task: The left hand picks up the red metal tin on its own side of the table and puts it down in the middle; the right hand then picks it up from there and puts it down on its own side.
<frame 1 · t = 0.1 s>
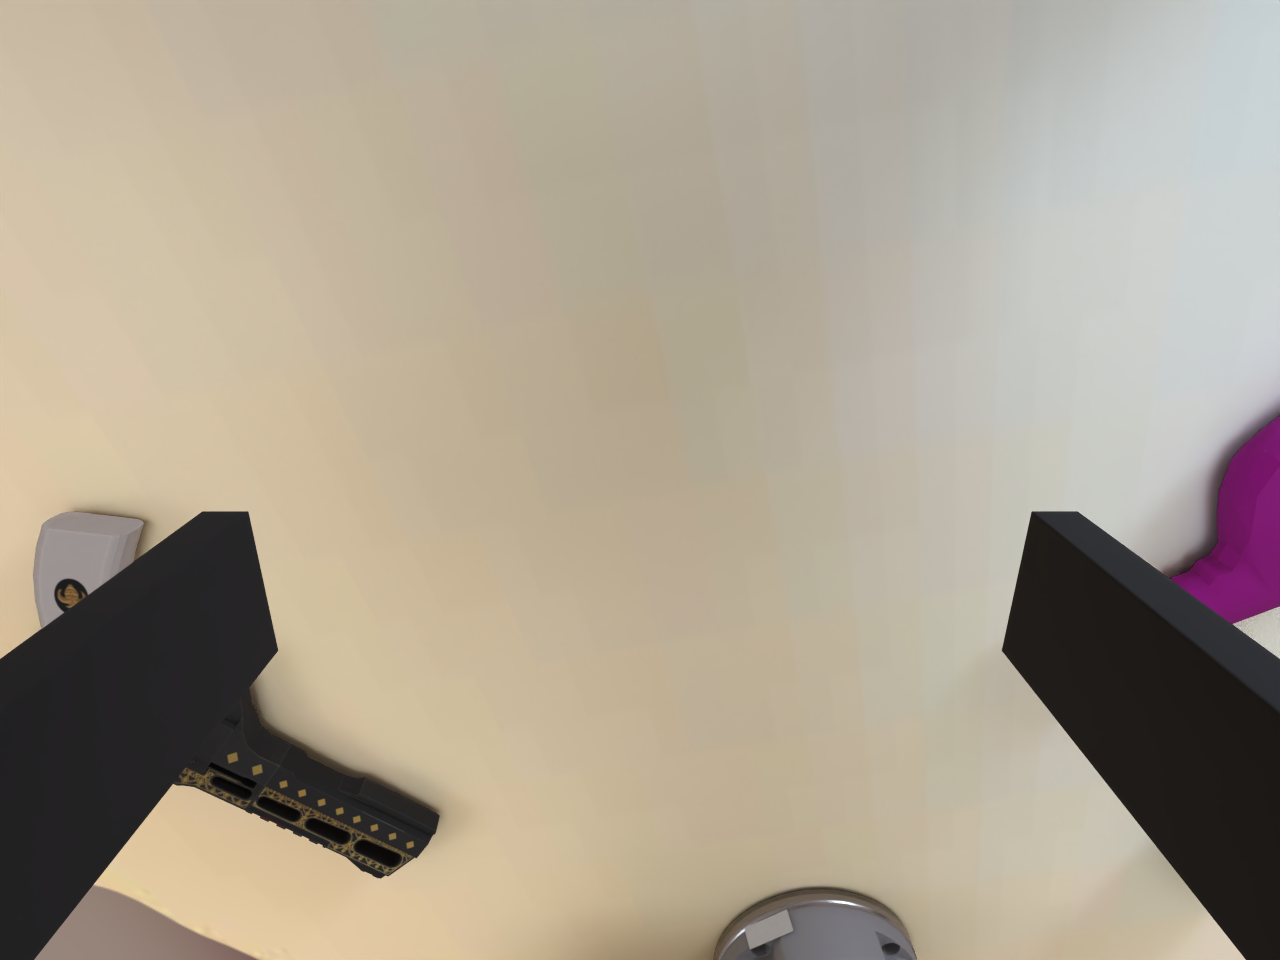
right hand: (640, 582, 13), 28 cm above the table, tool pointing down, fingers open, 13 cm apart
spray bottle: (1238, 525, 43), on the table
decorative firearm: (261, 692, 48), on the table
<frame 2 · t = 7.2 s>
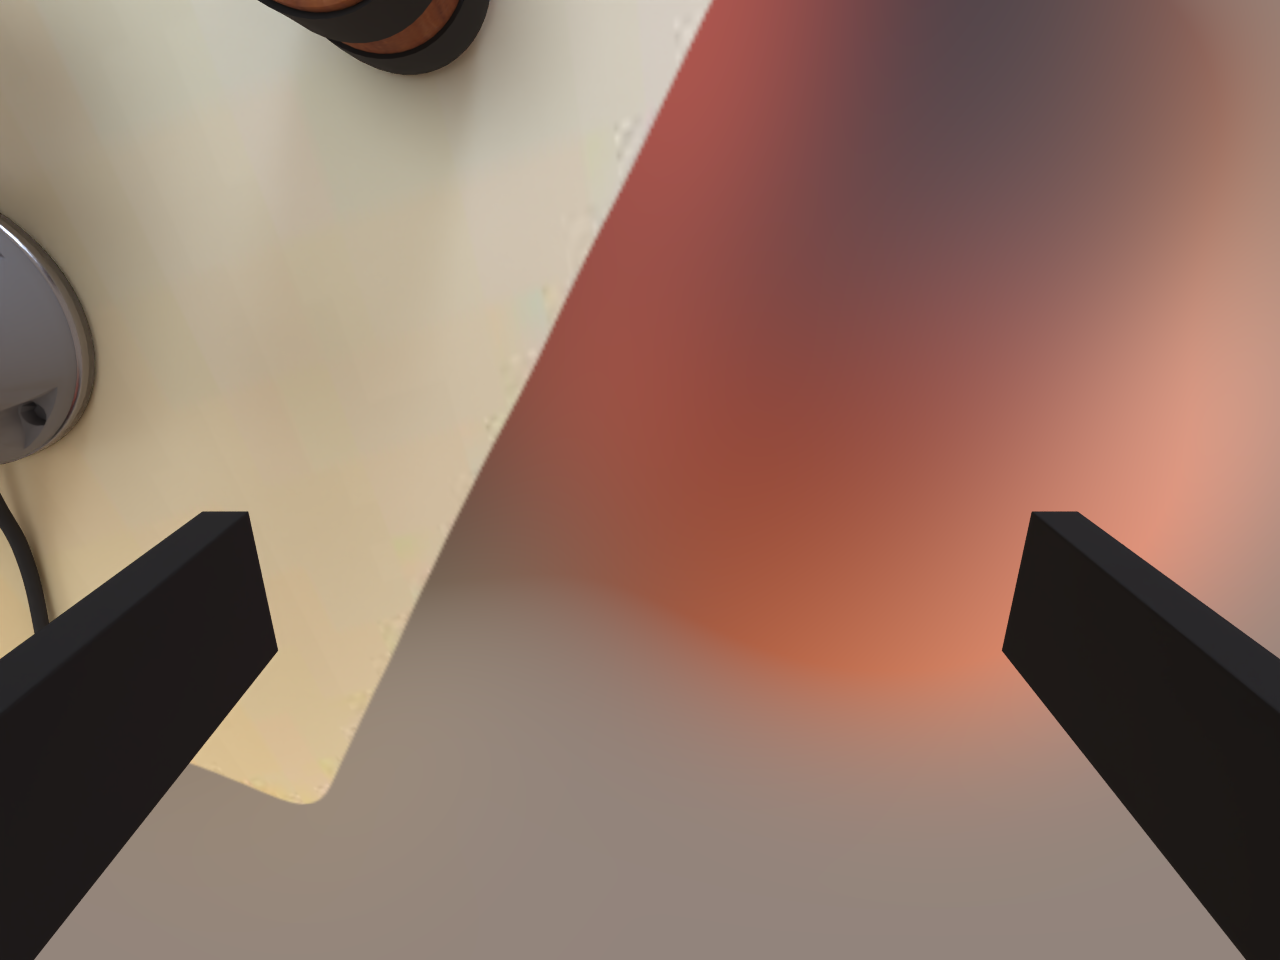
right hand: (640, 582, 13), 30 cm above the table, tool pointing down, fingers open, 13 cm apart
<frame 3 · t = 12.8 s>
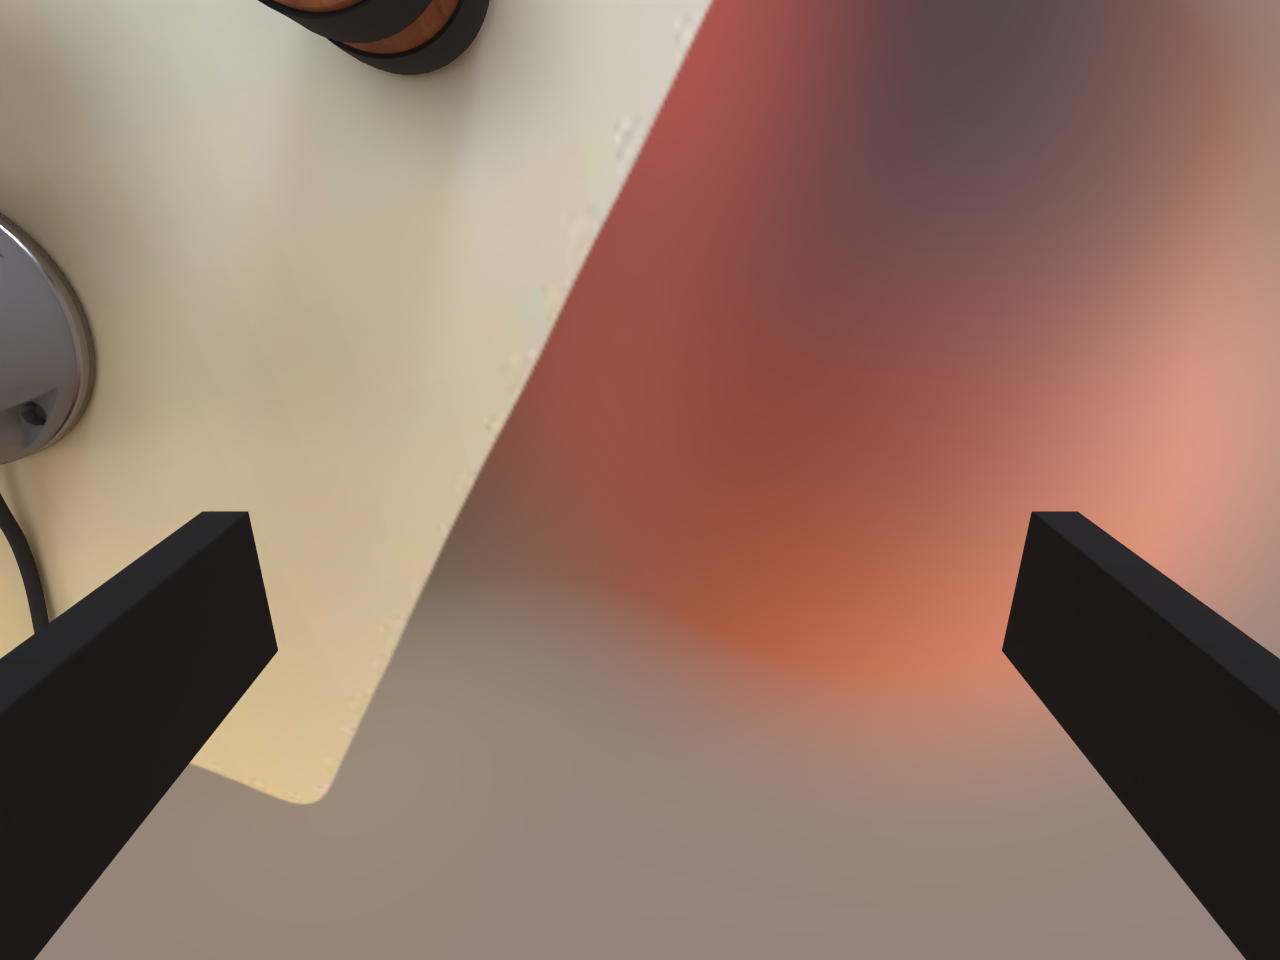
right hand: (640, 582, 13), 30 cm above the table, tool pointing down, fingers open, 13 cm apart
when the left hand's fingers open (5 cm above the table, at t = 18.3 s): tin drops 2 cm, on the table.
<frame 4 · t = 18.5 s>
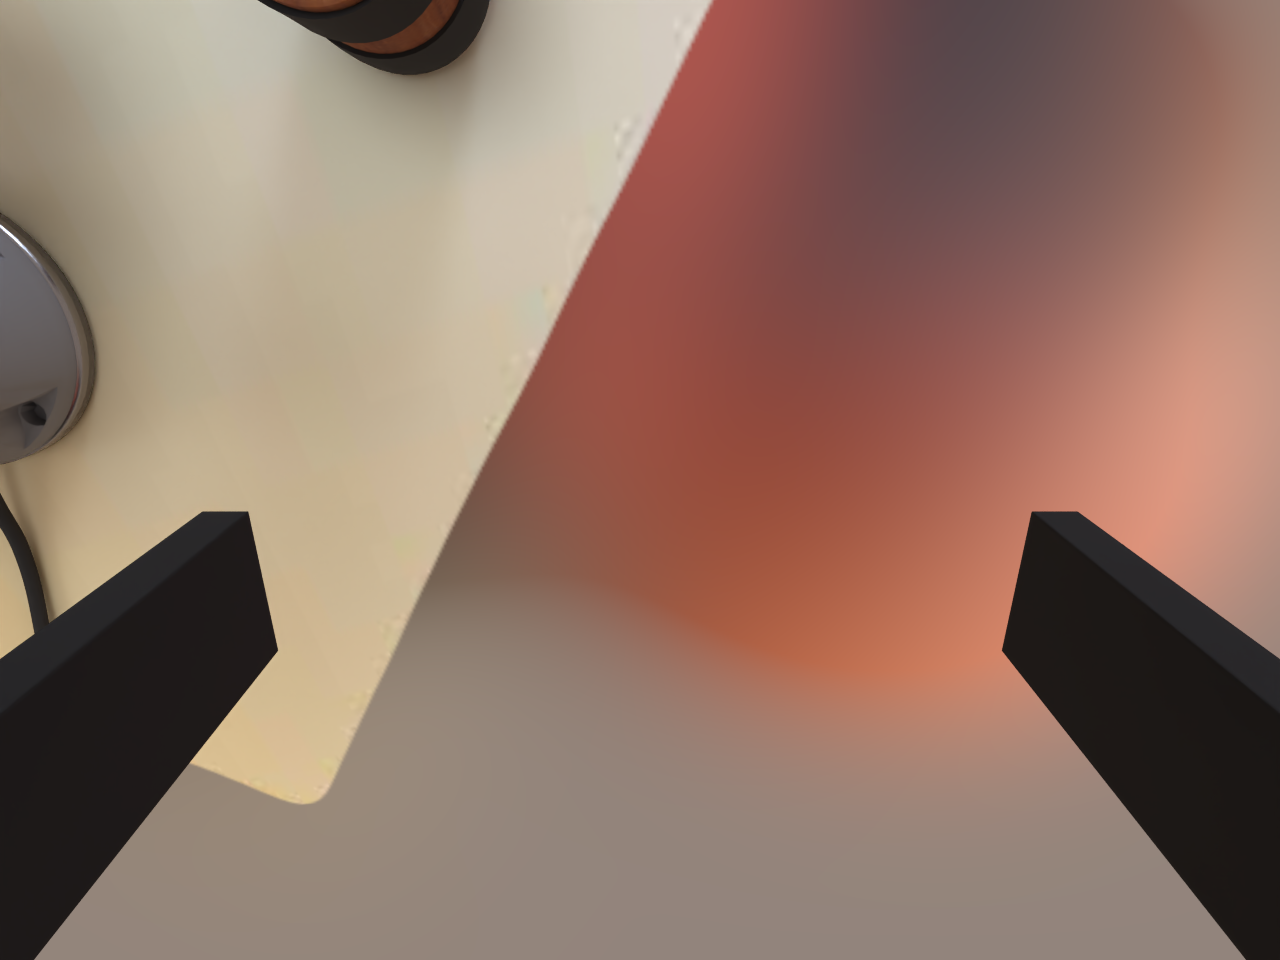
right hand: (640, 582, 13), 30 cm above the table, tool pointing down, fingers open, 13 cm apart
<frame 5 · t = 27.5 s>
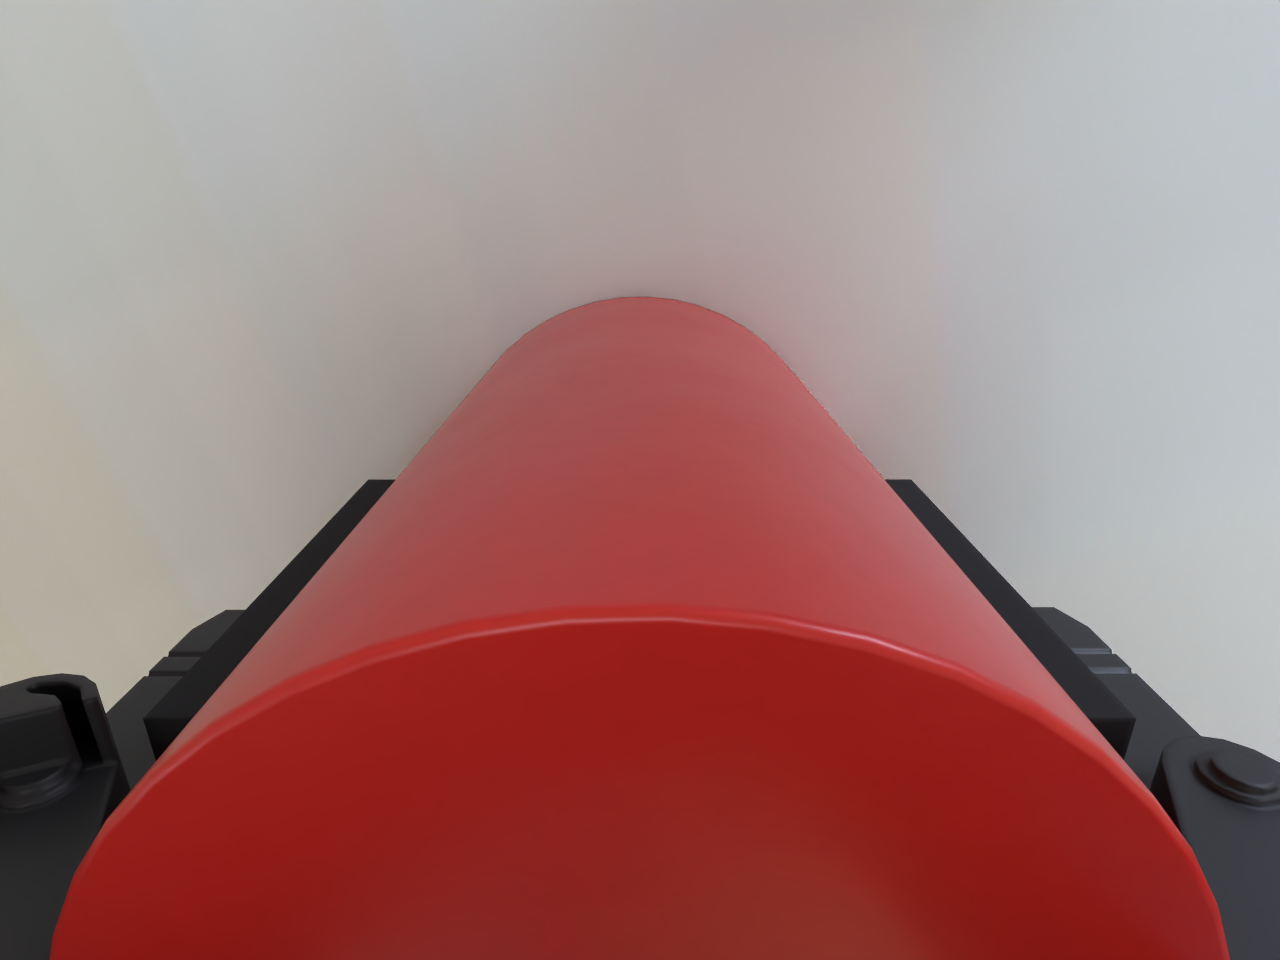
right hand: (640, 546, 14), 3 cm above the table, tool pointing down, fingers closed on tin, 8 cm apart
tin: (639, 481, 17), on the table, touching right hand
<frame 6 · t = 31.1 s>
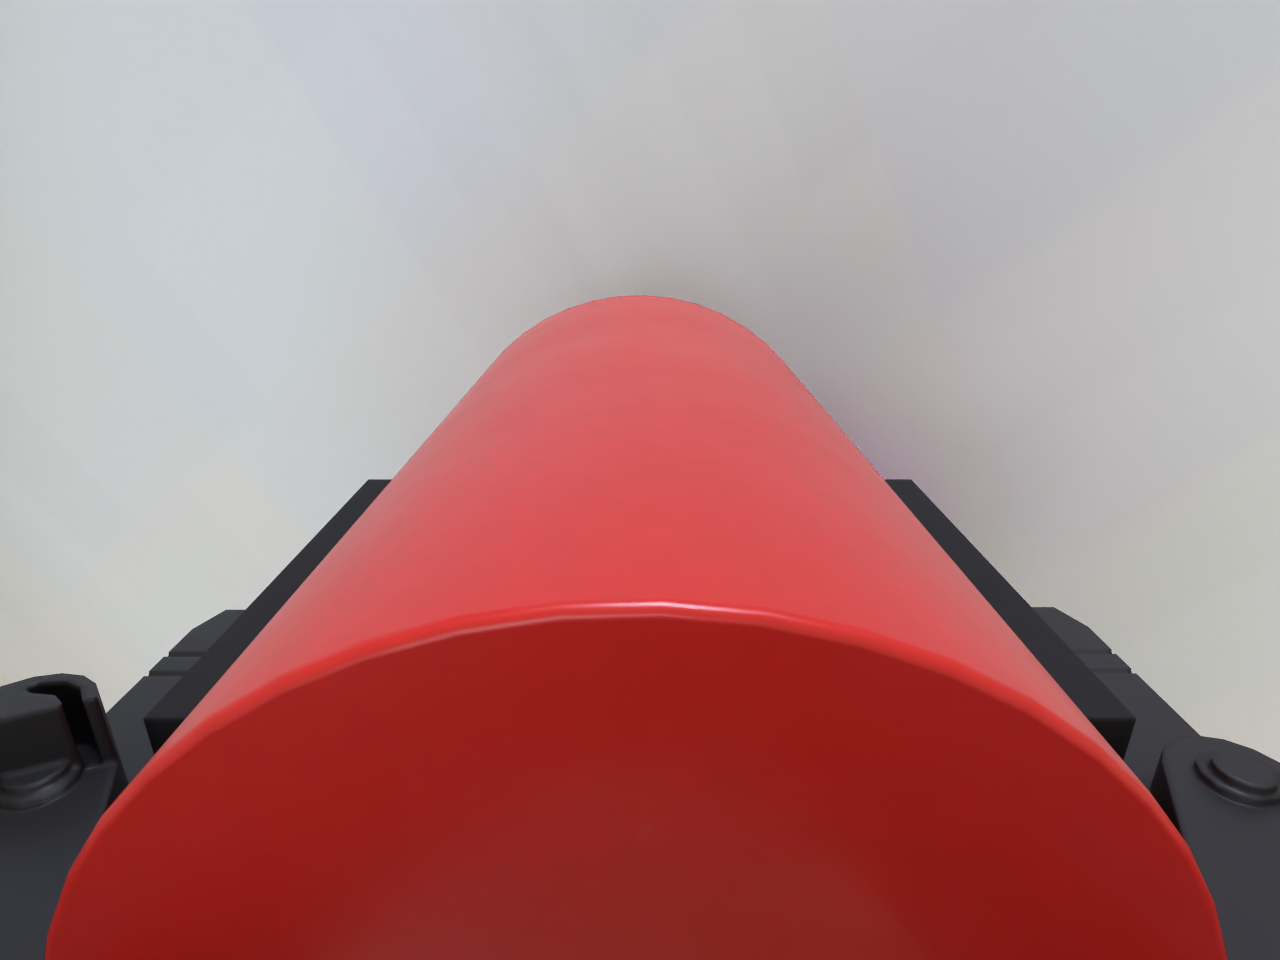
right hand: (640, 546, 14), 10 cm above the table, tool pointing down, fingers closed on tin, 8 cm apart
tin: (638, 480, 17), point 7 cm above the table, touching right hand
when the right hand's fingers open (5 cm above the table, at t = 34.8 s): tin drops 2 cm, on the table.
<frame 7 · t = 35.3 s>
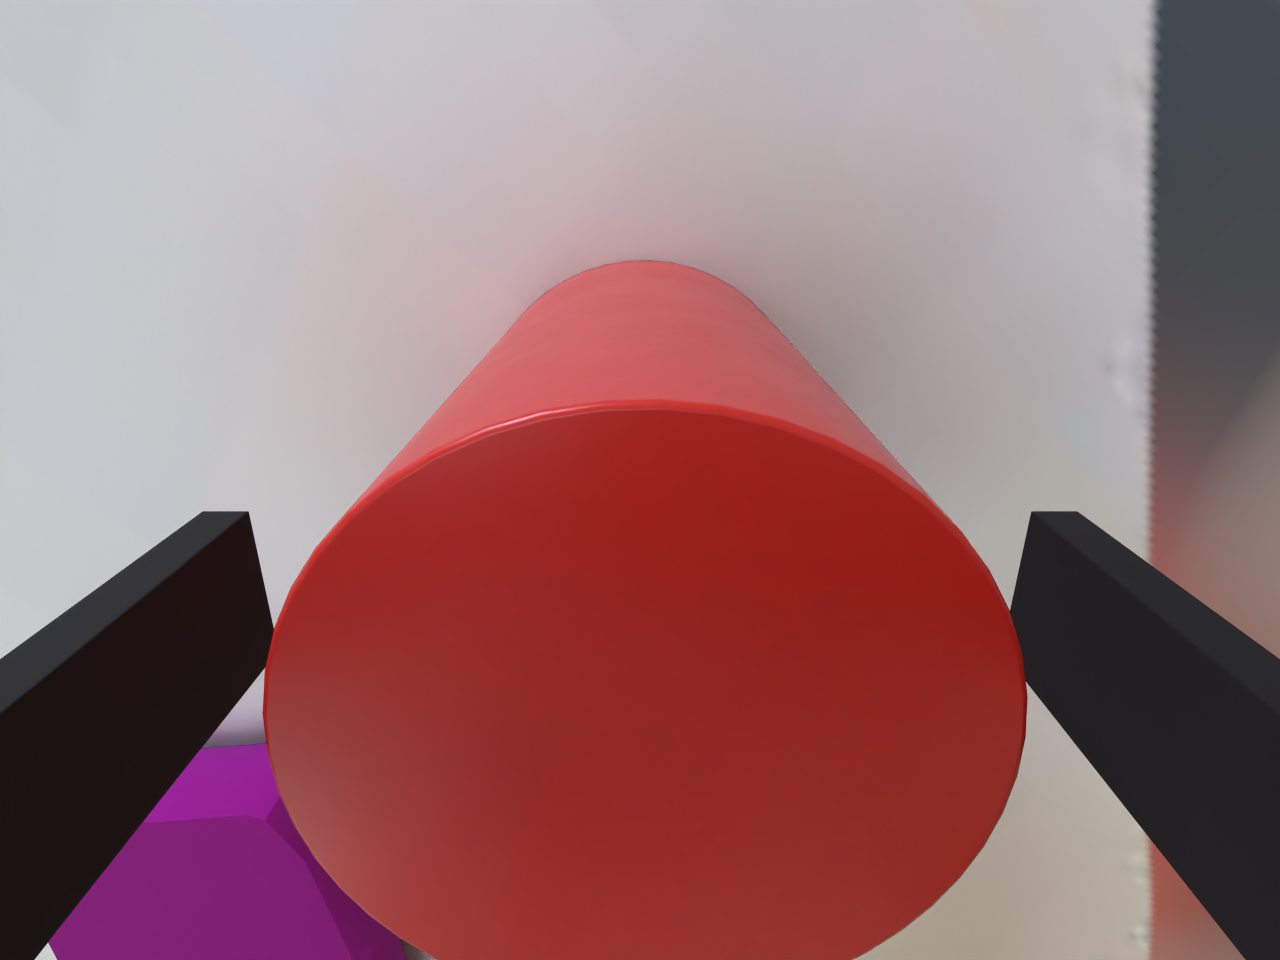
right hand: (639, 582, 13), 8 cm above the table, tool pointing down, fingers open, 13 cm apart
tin: (643, 422, 20), on the table
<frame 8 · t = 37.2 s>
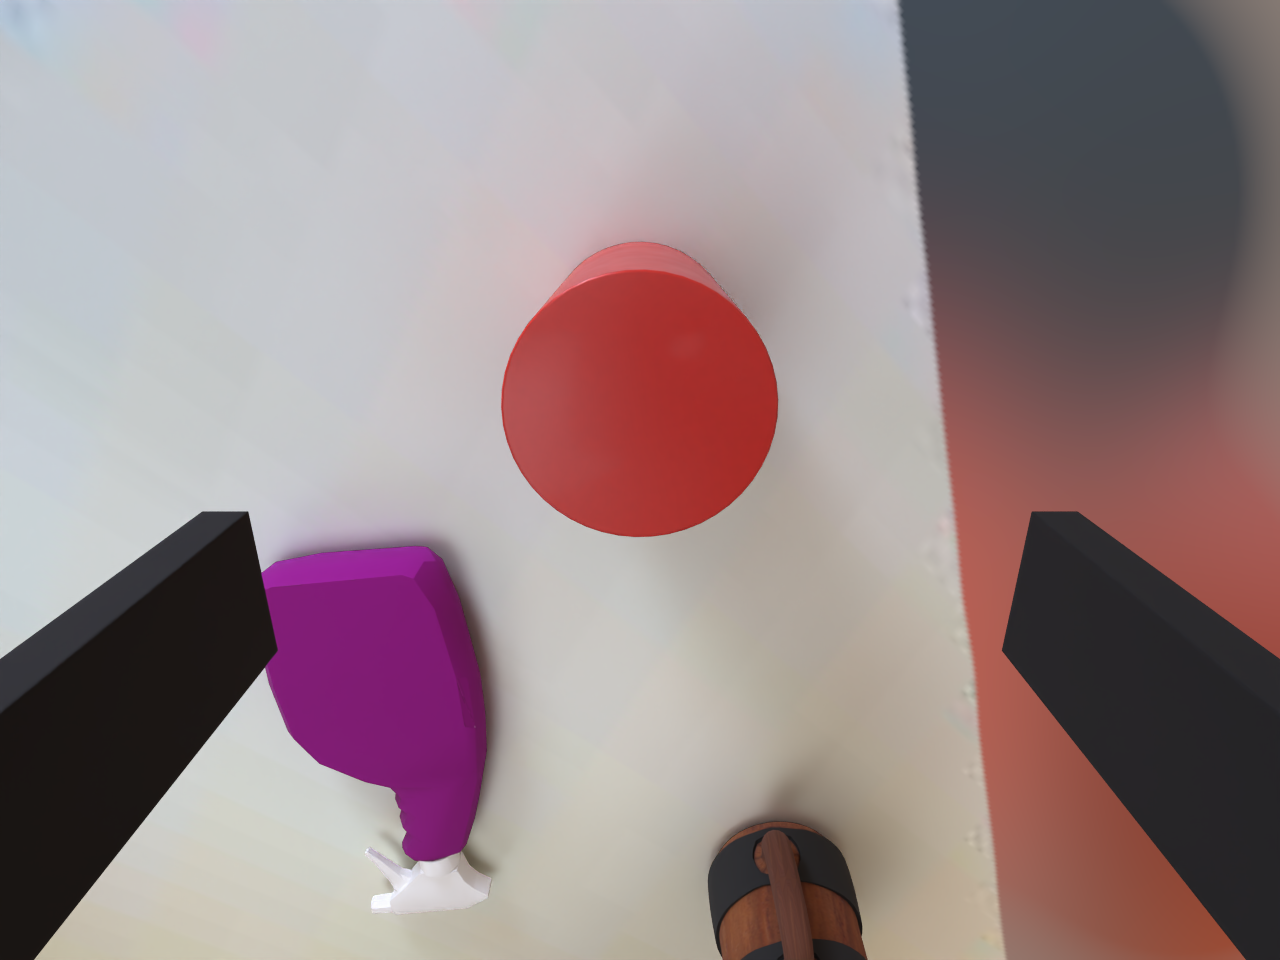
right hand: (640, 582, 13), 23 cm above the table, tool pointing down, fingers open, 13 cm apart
spray bottle: (405, 733, 42), on the table
mug: (772, 844, 45), on the table
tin: (639, 337, 34), on the table
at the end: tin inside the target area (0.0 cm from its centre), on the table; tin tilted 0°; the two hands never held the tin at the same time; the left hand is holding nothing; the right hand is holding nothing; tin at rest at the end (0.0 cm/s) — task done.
